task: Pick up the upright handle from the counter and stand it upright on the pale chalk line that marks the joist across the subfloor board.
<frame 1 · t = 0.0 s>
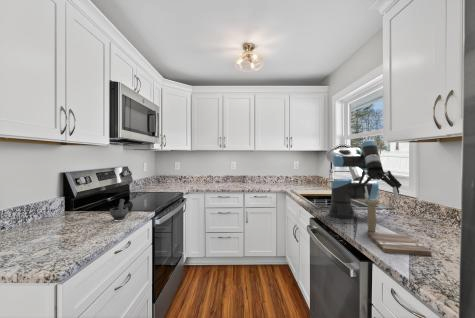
hand: (382, 199, 119), 16 cm above the worktop, tool tilted 35°, fingers open, 13 cm apart
handle: (371, 231, 119), on the worktop, touching gripper
mortar and pestle: (119, 220, 145), on the worktop
subfloor board: (396, 244, 101), on the worktop
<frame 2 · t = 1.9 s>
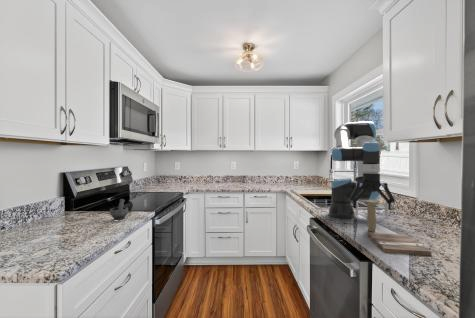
hand: (371, 215, 119), 8 cm above the worktop, tool pointing down, fingers open, 13 cm apart
handle: (371, 231, 119), on the worktop
everything else where it was.
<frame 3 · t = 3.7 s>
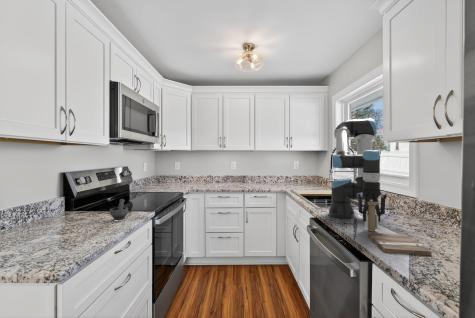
hand: (371, 227, 119), 2 cm above the worktop, tool pointing down, fingers closed on handle, 4 cm apart
handle: (371, 231, 119), on the worktop, touching gripper
everything else where it was.
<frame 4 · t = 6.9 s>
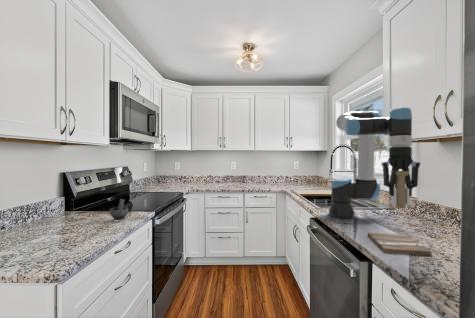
hand: (400, 203, 97), 18 cm above the worktop, tool pointing down, fingers closed on handle, 4 cm apart
handle: (400, 208, 97), point 16 cm above the worktop, touching gripper
everything else where it was.
when the fingers open (5 cm above the worktop, at t = 10.5 s): handle drops 1 cm, resting on subfloor board.
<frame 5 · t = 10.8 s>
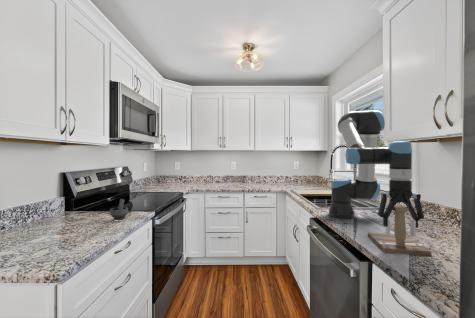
hand: (400, 234, 97), 5 cm above the worktop, tool pointing down, fingers open, 8 cm apart
handle: (400, 244, 97), point 2 cm above the worktop, touching subfloor board
everything else where it was.
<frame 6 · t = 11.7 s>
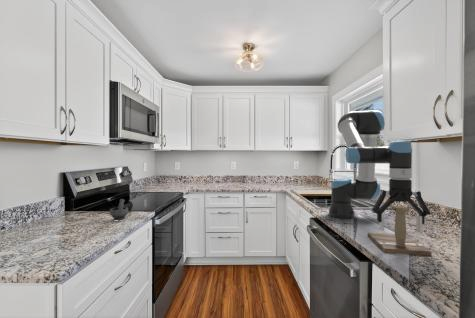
hand: (400, 230, 97), 7 cm above the worktop, tool pointing down, fingers open, 13 cm apart
nothing on the worktop moved.
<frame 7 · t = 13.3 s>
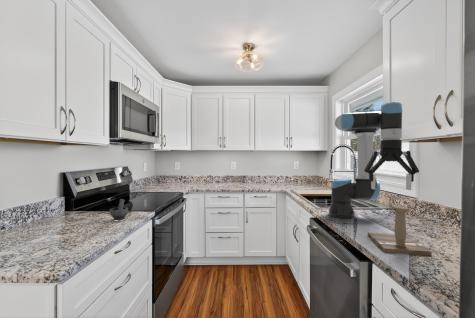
hand: (390, 189, 102), 23 cm above the worktop, tool pointing down, fingers open, 13 cm apart
nothing on the worktop moved.
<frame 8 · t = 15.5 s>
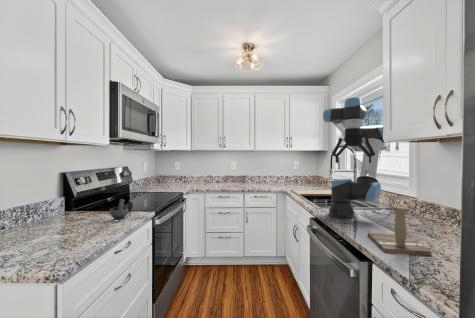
hand: (352, 169, 123), 31 cm above the worktop, tool pointing down, fingers open, 13 cm apart
nothing on the worktop moved.
at the end: handle 0.1 cm from the target spot, point 1.5 cm above the worktop; handle tilted 0°; the gripper is holding nothing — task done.
